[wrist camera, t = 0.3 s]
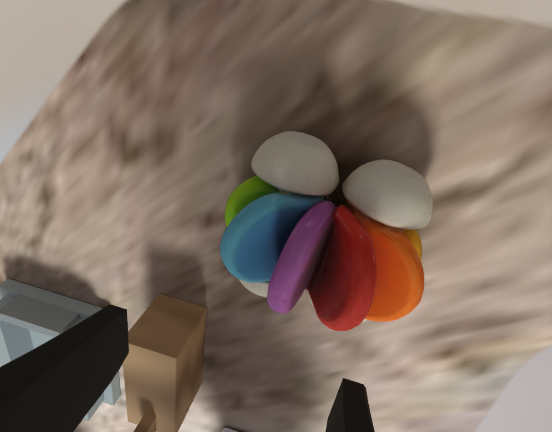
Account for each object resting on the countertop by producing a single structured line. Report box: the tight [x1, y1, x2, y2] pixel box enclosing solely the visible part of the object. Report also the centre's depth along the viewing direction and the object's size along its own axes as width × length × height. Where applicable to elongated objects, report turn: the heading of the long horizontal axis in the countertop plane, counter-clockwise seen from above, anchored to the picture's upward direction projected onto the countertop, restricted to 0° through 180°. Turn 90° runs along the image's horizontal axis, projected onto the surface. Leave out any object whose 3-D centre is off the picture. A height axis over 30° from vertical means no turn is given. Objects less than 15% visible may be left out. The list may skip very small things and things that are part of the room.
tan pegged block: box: [123, 294, 207, 432], centre depth 24 cm, size 8×4×6 cm, turn 171°
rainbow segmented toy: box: [220, 131, 433, 331], centre depth 16 cm, size 8×10×7 cm
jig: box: [0, 279, 121, 421], centre depth 29 cm, size 10×9×3 cm
